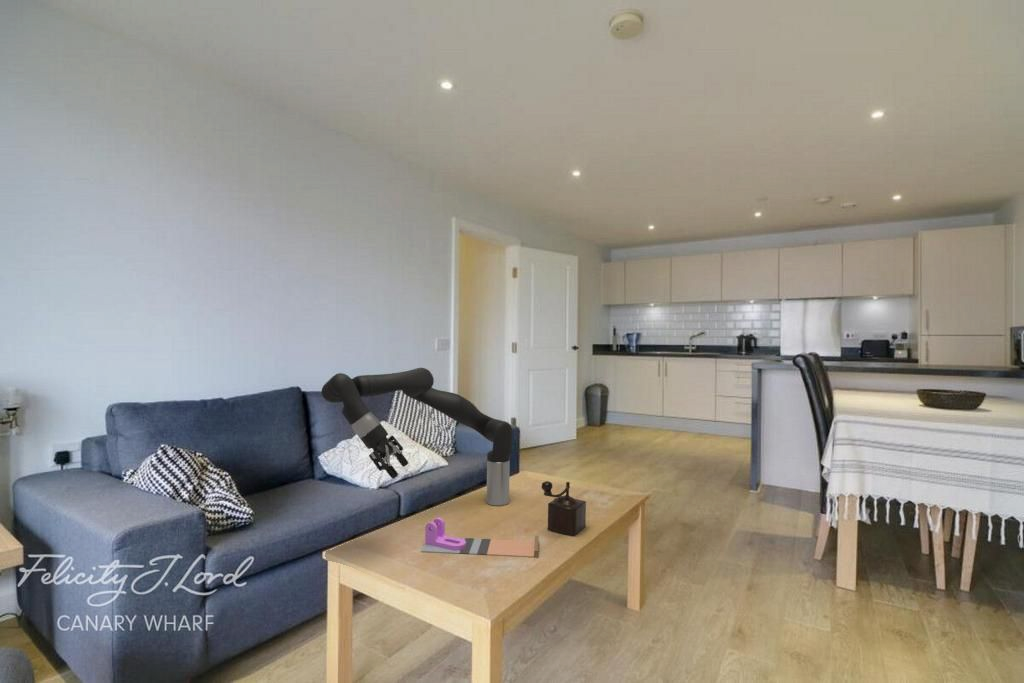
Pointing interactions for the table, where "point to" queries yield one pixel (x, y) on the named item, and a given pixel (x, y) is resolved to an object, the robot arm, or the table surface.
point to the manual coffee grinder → (565, 512)
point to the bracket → (442, 536)
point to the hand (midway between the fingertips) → (401, 470)
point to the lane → (492, 547)
